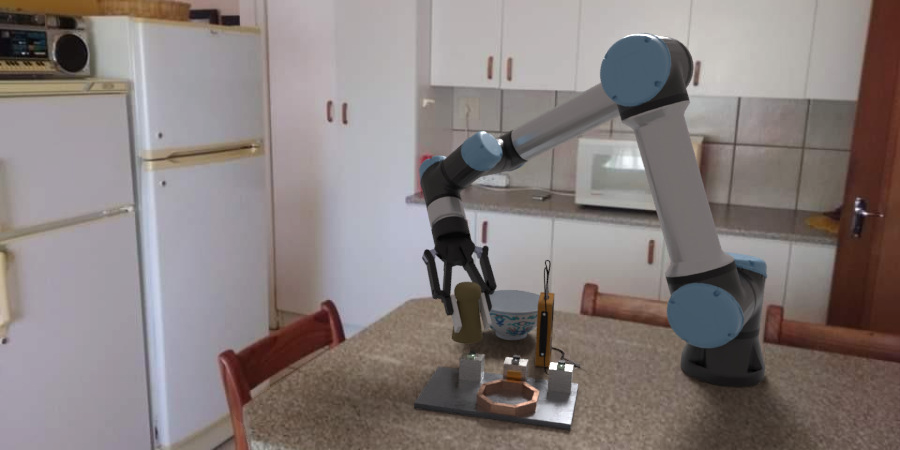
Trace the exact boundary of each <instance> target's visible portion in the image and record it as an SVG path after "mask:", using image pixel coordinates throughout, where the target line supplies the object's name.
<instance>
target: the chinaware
mask: <svg viewBox="0 0 900 450" xmlns="http://www.w3.org/2000/svg"><path fill="white" fill-rule="evenodd" d="M489 296H490V300H491V304H492V309H491V310H490V312H489V314H490V318H491V322H492V324H491V326H490V327H489V329H491V330H492V331H495V332H494V333H495V336H496V337H498V338H499V339H503V340H506V341H507V340H508V341H520V340H523V339H525V338H526V337H527V336H528V333H531V332H532V331H533V330H535V329H537V312H538V301H539V297H540V294H538V293H536V292H531V291H527V290H520V289H519V290H518V289H498V290H497V289H495V291H494V293H493V294H492V295H489ZM479 311H480V310H479Z"/></svg>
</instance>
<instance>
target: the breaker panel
mask: <svg viewBox="0 0 900 450" xmlns="http://www.w3.org/2000/svg"><path fill="white" fill-rule="evenodd" d="M485 356H486V355H485V354H484V353H482V354H481V353H478V352H477V349H470V350H469V351H468V352H464V351H463V352H462V354H461V355H460V357H459V358H458V359H459V361H458V364H459V365H458V366H459V367H458V368H454V367H446V366H445V367H444V366H437V368H436V370H435V371H434V372H433V374H432V376H431V377H430V378H429V380H428V381H427V383H426V384H425V386H424V387H423V388H422V391H421V392H420V393H419V395H418V396H417V398H416V400H415V401H414V402H413V408H414V409H416V410H423V411H431V412H438V413H444V414H451V415H452V414H453V415H459V416H465V417H473V418H474V417H475V418H481V419H488V420H495V421H496V420H497V421H504V422H510V423H517V424H524V425H533V426H539V427H545V428H554V429H560V430H569V431H570V430H571V429H572V424H573V419H574V413H575V409H576V408H575V407H576V402H577V397H578V391H579V383H576V382H573V381H574V380H573V379H574V370H573V369H574V364H571V363H569V364H568V363H566V360H564V359H558V362H552V361H550V365H549V367H548V374H549V375H548V379H543V378H535V377H534V378H533V377H528V375H529V374H528V373H529V359H527V358H526V359H524V358H521V355H519V354H518V355H517V354H513V356H512V357H509V356H506V357H505V360H504V362H503V364H502V365H503V366H502V367H503V369H502V374H501V373H496V372H495V373H493V372H487V371H486V372H485V360H486V359H485Z"/></svg>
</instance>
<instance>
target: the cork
mask: <svg viewBox="0 0 900 450" xmlns="http://www.w3.org/2000/svg"><path fill="white" fill-rule="evenodd" d="M453 295H455V298H456V302H457V306H458V311H459V315H460V319H461V324H462V327H461V329H460V331H459V333H455V330H454V326H452V331H451V339H452V341H454V342H456V343H459V344H466V345H469V344H476V343H479V342H481V341H483V339H484V338H483V328H482V322H481V321H482V319H481V314H480V311H479V303H478V300H479V298H480V297H481V288H480V286H479V285H478V284H477V283H474V282H472V281H461V282H459V283H457V284H456V285H455V286H454V290H453Z"/></svg>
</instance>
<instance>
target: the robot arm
mask: <svg viewBox="0 0 900 450" xmlns="http://www.w3.org/2000/svg"><path fill="white" fill-rule="evenodd" d="M694 70H695V67H694V61H693V56H692V54H691V52H690V50H689V49H688V47H687V46H686V45H685V44H684V43H682V42H681V41H680V40H678V39H677V38H674V37H671V36H670V37H669V36H665V35H664V36H663V35H661V36H660V35H655V34H652V33H648V32H639V33H636V34H629V35H626V36H624V37H621V38H619V39H618V40H617V41H615V43H613V44H612V45H611V46H610V47H609V48H608V50H607V51H606V53H605V55H604V57H603V58H602V61H601V64H600V69H599V77H600V82H599V83H597V84H595V85H593V86H591V87H589V88H587V89H586V90H584V91H582V92H580V93H578V94H575V96H572V97H571V98H569V99H567V100H565V101H563V102H562V103H560V104H558V105H556V106H554V107H552V108H550V109H548V110H547V111H545V112H543V113H541V114H539V115H537V116H535V117H534V118H531V119H530V120H527V121H526V122H525V123H522V124H520V125H519V126H516V127H515V128H513V129H512V130H509V131H508V132H505V133H503V134H502V135H500V136H497V137H494V136H493V135H492V134H491V133H487V131H481V130H480V131H477V132H476V133H474V134H473V135H471V136H470V137H467V138H466V139H465V140H464V141H463V143H462V144H461V145H459V146H458V147H456V148H455V149H454V151H452V152H451V153H450V154H449V155H447V156H444V155H435V156H434V155H433V156H432V157H431V158H426V159H425V160H423V161H422V162H421V164H420V166H419V167H418V168H419V169H418V173H419V174H418V175H419V180H420V181H419V184H420V188H421V191H422V194H423V198H424V203H425V206H426V211H427V216H428V217H427V218H428V221H429V224H430V225H429V226H430V229H431V236H432V240H433V245H434V247H433V248H432V249H427V248H426V249H424V250H423V251H424V252H423V253H422V257H421V259H422V261H423V262H424V264H425V266H426V270H427V275H428V280H429V286H430V290H431V291H430V292H431V297H432V299H433V300H440V301H441V303H442V304H443V306H444V311H445V314H446V316H450V317H451V321H452V325H453V326H454V330H455V333H459V331H460V329H461V327H462V324H461V319H460V315H459V311H458V306H457V299H456V298H455V295H454V294H453V295H451V293H452V291H451V290H452V278H453V277H452V276H453V267H456V266H460V267H462V269H463V270H464V271H465V272H466V273H467V275H468V277H469V279H470V282H474V283H477V284H478V285H479V286H480V288H481V297H480V298H479V300H478V303H479V310H480V319H481V321H482V322H481V323H482V324H483V329H484V331H489V329H490V326H491V324H492V322H491V318H490V314H489V312H490V310H491V309H492V304H491V300H490V296H489V295H492V294H493V293H494V291H495V290H497V285H498V284H497V283H496V279H495V275H494V271H493V268H492V265H491V262H490V258H489V251H490V249H489V248H490V247H489V246H488V245H483V246H482V247H481V246H477V245H476V244H475V243H474V241H473V240H472V237H471V236H472V235H471V232H470V228H469V224H468V221H467V216H466V212H465V209H464V205H463V200H462V196H461V192H462V191H464V190H465V189H467V188H468V187H469V186H471V184H473V183H474V182H476V181H477V180H478V179H481V178H482V177H486V176H487V177H488V176H492V175H497V174H499V173H504V172H513V171H515V170H518V169H520V168H522V167H524V165H525V164H526V163H528V162H529V161H531V160H533V159H535V158H537V157H539V156H541V155H543V154H546V153H547V152H549V151H552V150H554V149H555V148H557V147H560V146H561V145H563V144H565V143H567V142H570V141H571V140H574V139H576V138H578V137H580V136H582V135H584V134H586V133H588V132H591V131H592V130H594V129H596V128H599V127H600V126H602V125H605V124H606V123H609V122H611V121H612V120H614V119H615V120H616V119H617V118H618V117H620V120H621V123H622V124H623V125H625V126H627V127H629V128H630V129H631V130H633V132H634V136H635V140H636V143H637V147H638V150H639V154H640V159H641V161H642V165H643V168H644V173H645V175H646V179H647V182H648V187H649V189H650V193H651V197H652V200H653V205H654V207H655V211H656V214H657V218H658V223H659V225H660V228H661V231H662V236H663V240H664V243H665V246H666V250H667V253H668V257H669V260H670V263H669V266H668V267H667V269H666V271H665V272H664V275H665V279H666V280H665V281H666V283H667V287H668V290H669V294H670V297H669V299H668V300H667V301H668V302H667V307H666V316H667V317H666V318H667V320H668V321H667V322H668V324H669V326H670V328H671V330H673V332H674V333H675V335H676V336H677V337H678V338H680V339H681V340H683V341H684V342H685V344H684V346H683V350H682V351H681V354H680V355H681V356H680V364H679V365H680V368H681V369H682V370H683V372H684V373H685V374H686V375H688V376H690V377H692V378H694V379H697V380H698V381H702V382H705V383H708V384H711V385H717V386H722V387H732V388H742V387H743V388H745V387H746V388H747V387H753V386H756V385H758V384H761V383H762V382H763V381H764V379H765V374H766V363H765V359H764V354H763V349H762V346H761V341H760V331H761V330H760V329H761V322H762V314H763V304H764V295H765V288H766V281H767V278H768V274H767V272H768V271H767V268H768V266H767V262H766V261H765V260H763V259H762V258H760V257H756V256H752V255H747V254H743V253H735V252H728V251H727V252H726V251H724V250H723V249H722V246H721V242H720V239H719V235H718V231H717V229H716V225H715V221H714V217H713V213H712V210H711V207H710V203H709V199H708V196H707V193H706V190H705V185H704V182H703V179H702V178H703V177H702V175H701V170H700V167H699V165H698V161H697V157H696V154H695V150H694V146H693V143H692V139H691V136H690V132H689V129H688V125H687V121H686V119H685V118H686V117H685V112H686V110H687V109H688V107H689V105H690V103H691V101H690V97H689V93H688V89H687V88H688V86H690V83H691V82H692V79H693V76H694ZM474 253H475V255H476V258H477V259H478V260H479V265H480V269H481V273H482V274H481V273H480V271H479V269H478V268H477V265H476V264H475V260H474V258H473V254H474ZM436 257H437V258H438V259H439V260H440V261H441V262H443V278H442V279H443V280H442V289H441V284H440V279H439V275H438V269H437V264H436V263H437V262H436ZM482 276H483V277H482ZM453 326H452V327H453Z"/></svg>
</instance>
